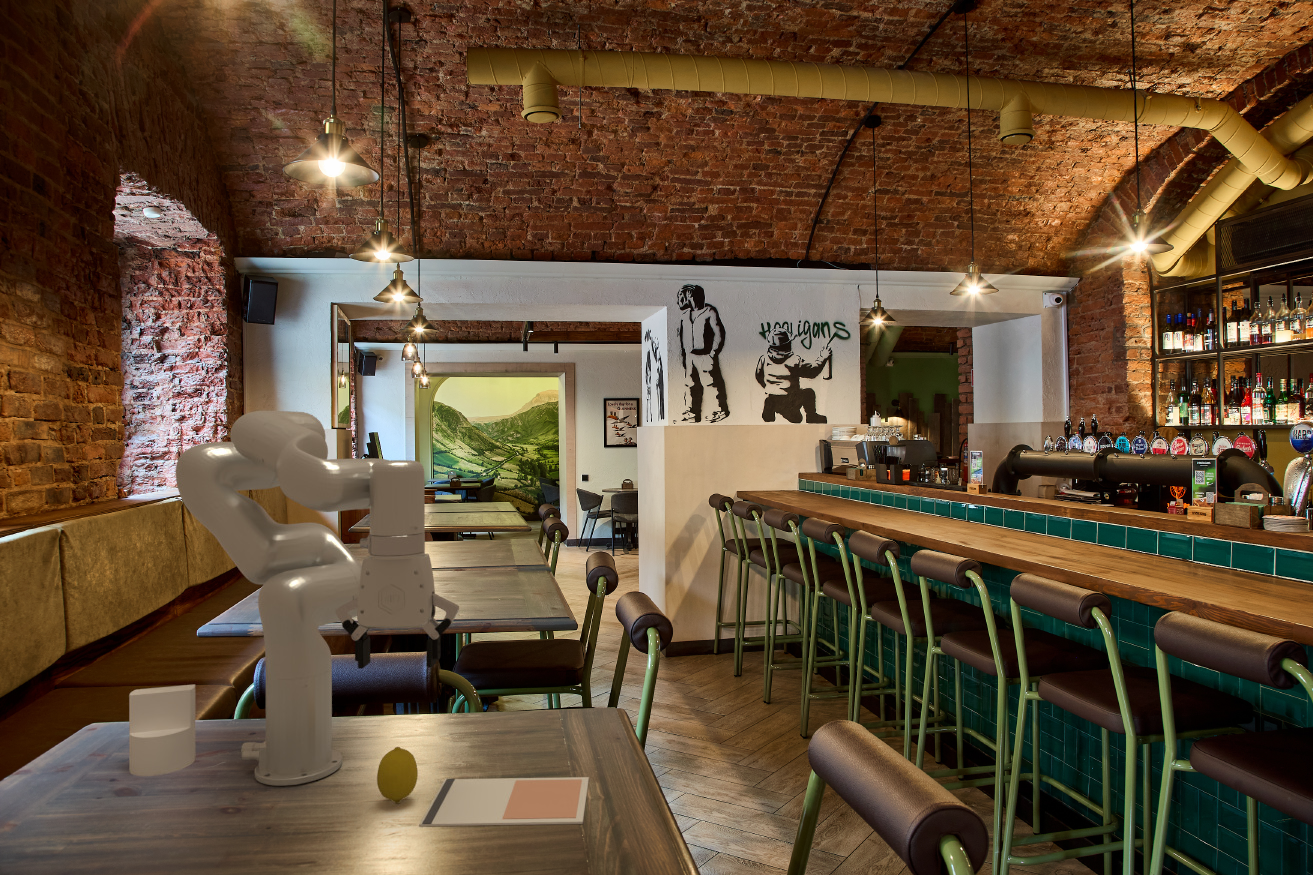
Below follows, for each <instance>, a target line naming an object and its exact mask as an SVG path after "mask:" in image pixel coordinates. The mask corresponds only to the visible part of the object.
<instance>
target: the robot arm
mask: <svg viewBox="0 0 1313 875" xmlns="http://www.w3.org/2000/svg"><path fill="white" fill-rule="evenodd" d="M229 436H230V441H216V442H205V443H201V444H197V445H194V446H191V447H190V448H189V447H188V449H186V450H184V451H183V452H182V453H181V454H180V456H179V457H178V459H177V462H176V465H175V481H176V485H177V486H176V487H177V490H178V493H179V496H180V498H181V501H182V502H183V504H184V506H185V507H186V508H187V510H188V511H189V513H190V514H191V515H192V516H193V517H194V519H196V520H197V521H198V522H199V523H201V525H202V526H204V527H205V528H206V529H207V530H208V531H209V532H210V533H211V534H212V535H213V536H214V538H216V540H217V541H218V543H219V544H220V546H221V547H222V549H223V550H224V551H225V552H226V553H227V555H228V557H229V558H230V559H231V560H232V562H233V563H234V564H235V566H236V568H238V570H239V571H240V572H241V574H242V575H243V576H244V577H245V578H246V579H247V580H248V581H249V582H250V583H252V584H255V585H262V586H261V588H260V589H259V590H260V591H259V593H258V599H257V604H258V605H257V606H258V612H259V616H260V622H261V626H262V631H263V632H262V633H263V640H264V649H265V650H264V652H265V653H264V656H265V740H263V742H257V741H255V742H248V741H247V742H244V743H243V744H242V745H241V751H240V753H241V760H242V761H252V760H256V761H257V762H258V764H257V765H256V766H255V768H254V778H255V780H256V781H258V782H259V783H261V784H264V785H269V786H275V787H278V786H279V787H280V786H281V787H283V786H284V787H285V786H287V787H288V786H296V785H301V784H305V783H306V784H307V783H311V782H314V781H316V780H321V779H323V778H325V777H327V776H331V775H332V774H333V773H335V772H336V771H338V769H340V767H341V766H342V764H343V754H342V753H341V752H340V751H339V750H337V749H335V748H333V746H332V744H333V741H332V740H333V738H332V736H333V733H332V730H333V729H332V728H333V724H332V723H333V721H332V720H333V719H332V718H333V716H332V714H333V707H332V706H333V704H332V701H333V700H332V699H333V698H332V696H333V692H332V691H333V689H332V688H333V687H332V686H333V685H332V682H333V681H332V679H333V678H332V677H333V676H332V675H333V674H332V673H333V671H332V669H333V666H332V664H333V663H332V652H331V648H330V647H329V644H328V643H327V641H326V640H325V639H324V637H323V636H322V635H321V633H320V632H319V627H322V626H326V625H329V624H333V623H338V622H340V623H341V627H342V628H343V629H344V630H345V632H347V633H348V634H349V635H350V637H351V639H352V640H353V641H354V660H355V662H357V669H359V670H362V669H364V668H365V667H367V666H368V665H369V664H370V663H371V636H370V635H368V632H369V631H370V630H371V629H374V630H375V629H416V628H417V629H418V628H422V629H423V631H425V633H426V634H427V635H428V639H427V640H426V667H428V669H429V668H433V667H434V666H435V665H436V664H437V663H438V661H439V660H440V659H441V636H442V635H443V633H445V631H446V630H447V629H448V628H450V627H451V625H452V624H453V622H454V620H455V618H456V616H457V615H458V612H459V610H460V606H459V605H458V604H456V603H455V602H452V601H450V600H449V599H446V598H445V597H443V596H440V595H439V594H436V590H435V580H434V572H433V567H432V561H431V557H430V554H429V553H426V551H425V550H426V545H425V544H426V542H425V541H426V539H425V537H426V536H425V535H426V534H425V532H426V531H425V529H426V528H425V525H426V523H425V522H426V521H425V519H426V518H425V517H426V516H425V512H426V511H425V505H426V504H425V499H426V498H425V468H424V466H423V465H422V462H419V461H417V460H411V459H409V460H405V459H403V460H402V459H400V460H399V459H397V460H396V459H395V460H394V459H391V460H389V459H384V458H370V457H369V458H335V459H328V457H329V456H328V454H329V449H328V444H327V442H326V431H325V429H324V426H323V424H322V422H321V421H320V420H319V419H318V418H317V417H315V416H314V415H313V414H310V413H308V412H304V411H288V410H287V411H286V410H285V411H284V410H283V411H282V410H257V411H256V410H255V411H250V412H248V413H245V414H243V415H242V416H240V417H239V418H238V419H236V421H234V423H233V425H232V426H231V428H230V435H229ZM277 487H279V488H280V490H281V492H282V493H283V494H284V496H285V497H286V498H289V499H290V500H292V501H293V502H295V503H297V504H299V505H301V506H303V507H305V508H308V509H310V510H313V511H315V512H316V511H317V512H323V513H334V512H335V513H336V512H343V511H351V510H352V511H353V510H368V509H369V534H368V536H367V537H366V538H360V540H359V547H360V548H361V549H363V548H364V549H366V550H367V552H368V554H369V555H367V556H364V557H363V559H362V564H361V563H360V561H359V560H358V559H357V558H356V556H354V555H353V553H352V552H351V550H349V548H348V547H347V546H346V545H345V544H344V542H343V541H342V540H341V539H340V538H339V536H338V535H337V534H336V533H335V532H334V531H333V530H332V529H330V528H329V527H327V526H326V525H324V524H321V523H318V522H301V523H300V522H298V523H286V524H285V523H279V522H277V521H275V520H274V519H273V518H272V517H271V516H270V514H268V512H267V511H266V510H265V508H264V507H262V505H260V504H259V503H258V502H256V500H254V499H251V498H250V497H249V496H246V495H244V494H242V493H241V492H238V491H251V490H253V491H254V490H268V489H273V488H277ZM436 607H437V608H439V609H440V610H443V611H445V616H444V618H443V620H442V621H441V622H440V623H439V622H438V621H437V620H436V618H435V617H436V616H435V615H436V609H437V608H436ZM354 618H357V621H355V619H354Z"/></svg>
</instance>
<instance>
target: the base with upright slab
mask: <svg viewBox="0 0 1313 875" xmlns="http://www.w3.org/2000/svg"><path fill="white" fill-rule="evenodd" d="M128 698H129V699H128V700H129V701H128V703H129V704H128V705H129V708H128V709H129V715H128V716H129V718H128V720H129V724H128V726H129V728H128V729H129V733H128V734H129V736H128V737H129V741H128V742H129V746H128V749H129V758H128V760H129V762H128V763H129V765H128V766H129V768H128V769H129V770H128V771H129V774H131V775H133V776H136V777H137V776H138V777H155V776H161V775H166V774H169V773H173V772H177V771H179V770H182V769H184V768H185V769H186V767H188V766H190V765H192V764H193V763H194V762H195V760H196V684H187V685H186V684H184V685H173V686H163V687H162V686H161V687H151V688H149V687H148V688H140V689H134V690H133V691H131V692H130V693H129V695H128Z"/></svg>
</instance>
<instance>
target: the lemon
mask: <svg viewBox="0 0 1313 875" xmlns="http://www.w3.org/2000/svg"><path fill="white" fill-rule="evenodd" d="M378 764H379V765H378V769H377V774H376V775H377V776H376V782H377V788H378V790H379V793H380V795H382V796H383V797H384V798H385V799H387V800H388V801H392V802H394V803H395V804H400V803H401V802H402V801H403V800H404V799H406V798H408V797H409V796H410V795H411V793H413V791H414V789H416V788H415V787H416V785H417V781H418V774H419V772H418V765H417V762H416V758H415V756H414V755H413V753H411V752H410V751H409V750H407V749H405V748H401V746H396V747H394V748H393V749H391V750H390V751H388V752H387V753H385V755H384V756H383V757H382V758H381V760H380V763H378Z"/></svg>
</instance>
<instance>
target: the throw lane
mask: <svg viewBox="0 0 1313 875" xmlns="http://www.w3.org/2000/svg"><path fill="white" fill-rule="evenodd" d="M589 781H590V777H589V776H582V777H581V776H578V777H577V776H575V777H570V776H569V777H567V776H566V777H530V778H529V777H526V778H525V777H513V778H509V777H508V778H507V777H505V778H501V777H500V778H446V779H445V778H444V779H443V781H442V783H441V784H440V787H439V789H438V790H437V792H436V793H435V795H434V797H433V799H432V801H431V802H430V804H429V806H428V807H427V809H426V812H425V813H424V815H423V817H422V819H421V820H420V822H419V823H418V826H419V827H458V826H459V827H466V826H468V827H469V826H472V827H473V826H519V825H520V826H522V825H523V826H525V825H527V826H528V825H532V826H533V825H538V826H539V825H583V824H584V817H585V810H586V802H587V795H588V788H589Z"/></svg>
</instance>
